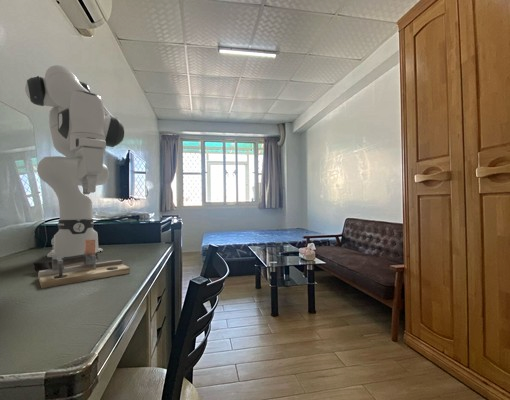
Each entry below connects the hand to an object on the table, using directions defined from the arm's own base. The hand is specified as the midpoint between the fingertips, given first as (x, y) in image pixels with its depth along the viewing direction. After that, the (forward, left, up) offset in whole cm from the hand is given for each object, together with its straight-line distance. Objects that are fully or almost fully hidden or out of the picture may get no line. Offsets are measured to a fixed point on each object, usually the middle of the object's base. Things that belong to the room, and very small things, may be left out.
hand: (88, 193), depth 78 cm
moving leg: (+3, 0, -21) cm, 21 cm away
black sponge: (-13, -3, -24) cm, 27 cm away
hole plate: (+3, -1, -23) cm, 23 cm away
